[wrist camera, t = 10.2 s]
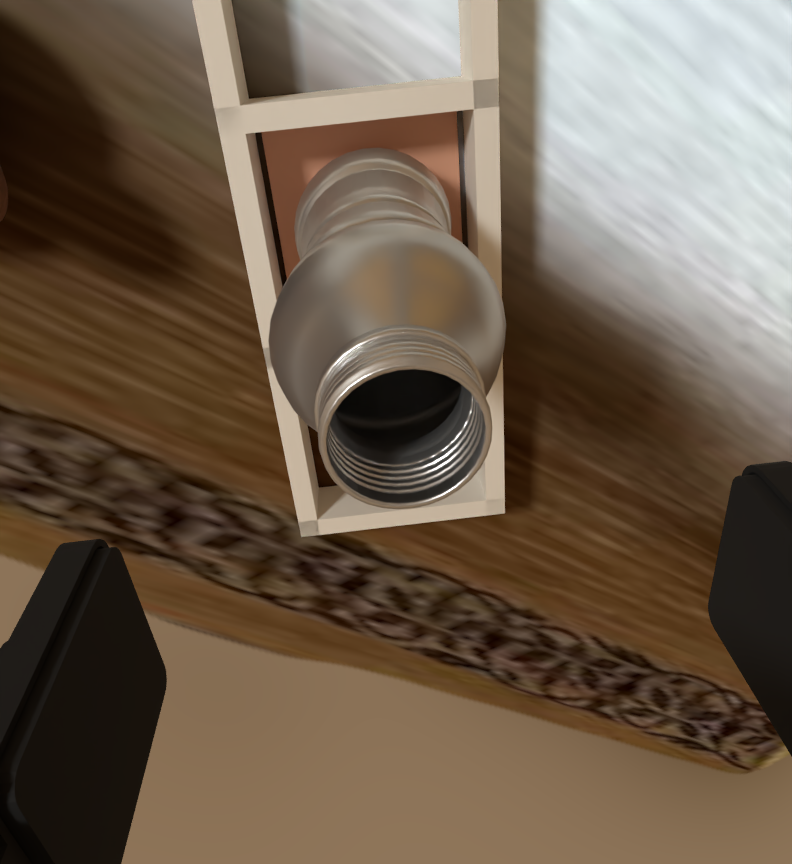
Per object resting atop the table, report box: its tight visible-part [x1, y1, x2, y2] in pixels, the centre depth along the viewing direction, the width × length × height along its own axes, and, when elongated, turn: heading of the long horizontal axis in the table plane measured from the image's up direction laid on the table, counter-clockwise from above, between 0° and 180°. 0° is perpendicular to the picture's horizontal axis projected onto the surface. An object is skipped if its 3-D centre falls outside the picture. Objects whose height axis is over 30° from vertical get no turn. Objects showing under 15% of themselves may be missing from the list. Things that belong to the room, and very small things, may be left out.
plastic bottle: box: [268, 148, 506, 509], centre depth 23 cm, size 6×7×20 cm
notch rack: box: [192, 0, 505, 537], centre depth 31 cm, size 31×11×3 cm, turn 5°
